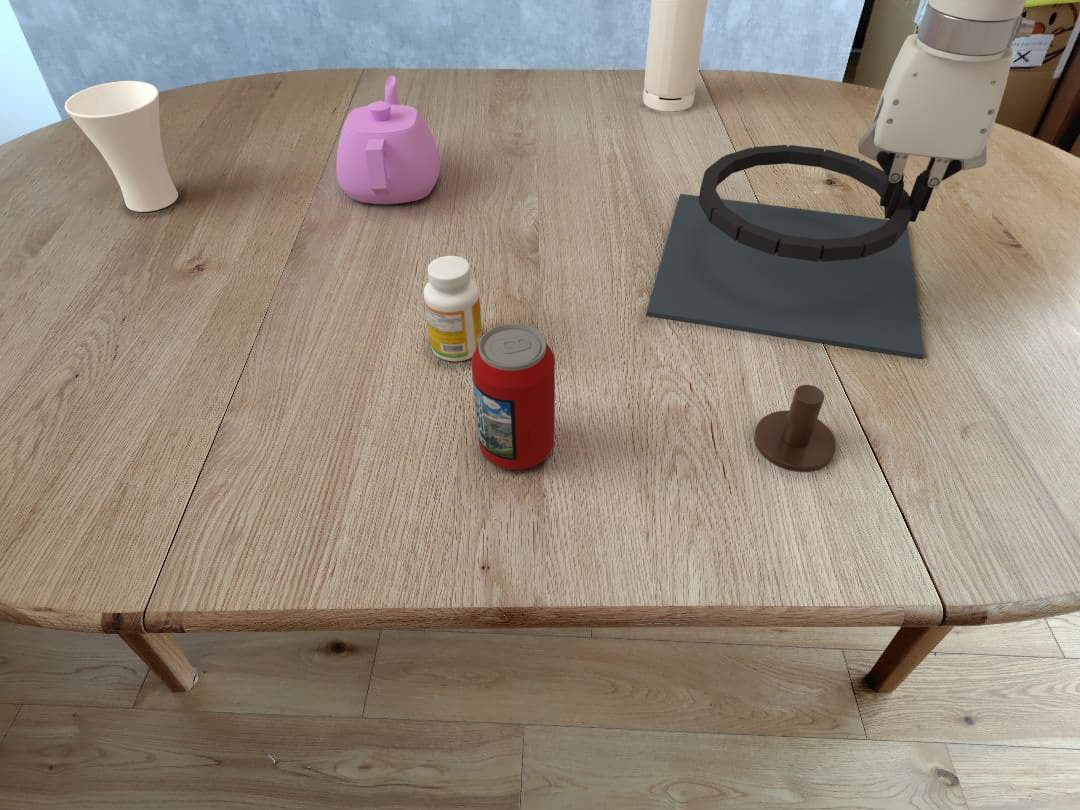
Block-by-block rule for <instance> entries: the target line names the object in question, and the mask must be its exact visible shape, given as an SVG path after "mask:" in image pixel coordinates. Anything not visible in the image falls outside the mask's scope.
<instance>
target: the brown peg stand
mask: <svg viewBox="0 0 1080 810" xmlns="http://www.w3.org/2000/svg"><path fill="white" fill-rule="evenodd" d="M824 400H825V394H824V392H823V391H822V390H821V389H820V388H819V387H817V386H815V385H811V384H802V385H799V386H798V387H796V389H795V391H794V394H793V397H792V401H791V403H790V406H789V410H779V411H773V412H772V413H769V414H767V415H764V416H763V417H762V418H761V419H760V420H759V421H758V423H757V425H756V427H755V431H754V443H755V445H756V448H757V449H758V451H759V452H760V454H761V455H762V456H763V457H764V458H765V459H766V460H768V461H769V462H770V463H772V464H773V465H776V466H777V467H780V468H782V469H785V470H787V471H788V470H789V471H793V472H803V473H805V472H813V471H817V470H820V469H822V468H824V467H825V466H827V465H828V464H829V463H830V462H831V461H832V459H833V458H834V455H835V453H836V448H837V443H836V438H835V436H834V434H833V432H832V430H831V429H830V428H829V426H827V425H826V424H825V423H824V422H822V420H819V419H818V417H819V414H820V412H821V408H822V406H823V403H824Z"/></svg>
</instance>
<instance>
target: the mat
mask: <svg viewBox="0 0 1080 810" xmlns="http://www.w3.org/2000/svg"><path fill="white" fill-rule="evenodd" d="M721 200H722V202H723V203H724V205H725V207H727V208H728V209H729V210H731V211H732V212H734V213H735V214H737V215H738V216H740V217H741V218H743V219H744V220H745V221H747V222H748V223H751V224H754V225H757V226H760V227H763V228H766V229H768V230H771V231H774V232H777V233H780V234H783V235H790V236H797V237H805V238H813V239H820V240H823V239H835V238H848V237H857V236H859V235H862V234H865V233H867V232H870V231H873V230H875V229H878V228H880V227H883V226H884V225H885V223H886V222H887V221H888V220H889V219H887V218H877V217H869V216H861V215H853V214H845V213H838V212H831V211H829V212H828V211H821V210H814V209H813V210H812V209H805V208H798V207H789V206H781V205H773V204H766V203H757V202H750V201H741V200H734V199H725V198H721ZM908 229H909V228H908V227H907V229H906V230H905V231H904V233H903V234H902V235H901V236H900V238H899V239H898V240H897V241H896V243H895V244H894V245H893V246H891V247H890V248H887V249H885V250H882V251H880V252H877V253H875V254H872V255H870V256H867V257H865V258H862V257H860V259H850V260H837V261H825V262H821V260H820V259H819V261H818V262H816V261H809V260H801V259H794V258H787V257H779V256H777V253H776V254H775V255H771V254H768V253H766V252H763V251H760V250H757V249H755V248H752V247H749V246H746V245H744V244H741V243H738V240H736V241H735V240H733V239H732V238H730V237H729V236H728V235H726V234H725V233H724V232H722V231H721V230H719V229H718V228H717V227H715V226H714V225H712V224H711V222H709V221H708V219H707V217H706V215H705V213H704V211H703V210H702V208H701V206H700V204H699V195H694V194H686V193H679V196H678V200H677V203H676V207H675V211H674V214H673V218H672V221H671V225H670V228H669V231H668V235H667V239H666V242H665V246H664V249H663V252H662V257H661V259H660V262H659V266H658V270H657V274H656V278H655V281H654V284H653V287H652V290H651V291H652V292H651V295H650V298H649V302H648V305H647V309H646V314H645V315H646V316H648V317H653V318H659V319H667V320H672V321H680V322H686V323H693V324H698V325H704V326H705V325H706V326H711V327H717V328H723V329H730V330H736V331H742V332H750V333H755V334H762V335H769V336H775V337H781V338H787V339H793V340H800V341H807V342H812V343H819V344H825V345H831V346H838V347H845V348H849V349H850V348H851V349H857V350H862V351H869V352H877V353H882V354H889V355H896V356H901V357H907V358H912V359H913V358H914V359H920V360H922V359H923V357H924V355H925V353H924V346H923V345H924V344H923V339H922V330H921V322H920V315H919V307H918V298H917V291H916V283H915V276H914V270H913V269H914V267H913V261H912V252H911V244H910V237H909V230H908Z"/></svg>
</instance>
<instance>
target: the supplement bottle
mask: <svg viewBox="0 0 1080 810" xmlns="http://www.w3.org/2000/svg"><path fill="white" fill-rule="evenodd" d="M471 273H472V272H471V265H470V263H469V261H468V260H467V259H465V258H463V257H462V256H458V255H443V256H440V257H437V258H435V259H433V260H432V261H431V262H429V264H428V266H427V279H428V281H427V283H426V284H425V286H424V288H423V302H424V309H425V317H426V321H427V322H426V323H427V328H428V330H427V331H428V335H429V337H428V338H429V344H430V348H431V351H432V353H433V354H434V355H435V356H437V358H439V359H442V360H444V361H447V362H448V361H449V362H463V361H467V360H470V359H472V357H473V354H474V352H475V350H476V349H477V347H478V346H479V342H480V339H481V338H482V336H483V335H484V334H483V327H482V313H481V299H480V291H479V286H478V284H477V282H476V281H475V280H474V279H473V278H472V277H471V276H472V275H471Z"/></svg>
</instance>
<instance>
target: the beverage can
mask: <svg viewBox="0 0 1080 810" xmlns="http://www.w3.org/2000/svg"><path fill="white" fill-rule="evenodd" d="M482 335H483V336H482V338H481V339H480V342H479V346H478V347H477V349H476V350H475V352H474V354H473V357H471V375H472V385H473V397H474V399H473V400H474V409H475V418H476V427H477V436H478V446H479V450H480V452H481V454H482V456H483V457H484V458H485V459H486V460H487V461H488V462H490V463H491V464H492V465H495V466H497V467H499V468H502V469H507V470H524V469H529V468H533V467H535V466H537V465H539V464H540V463H542V462H543V461H544V460H546V459H547V458H548V457H549V455H550V454H551V453H552V451H553V448H554V445H555V420H556V419H555V415H556V414H555V410H556V409H555V406H556V391H555V390H556V369H555V368H556V366H555V365H556V360H555V359H556V358H555V354H554V352H553V350H552V348H550V346H549V344H548V343H547V341H546V339H545V337H544V335H543V333H542V332H540V331H539V330H538V329H536V328H535V327H533V326H529V325H526V324H523V323H522V324H521V323H505V324H501V325H497V326H494V327H492V328H490V329H489V330H487V331H486V332H484V334H482Z"/></svg>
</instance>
